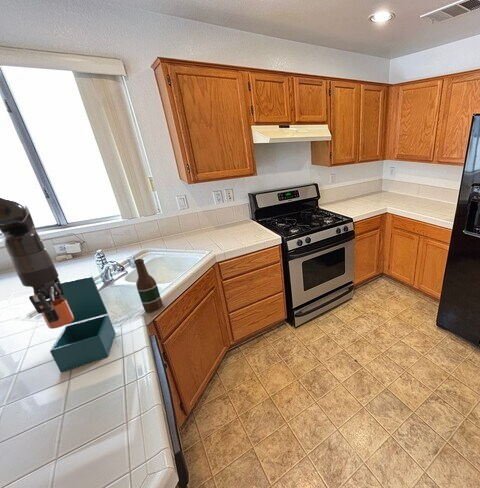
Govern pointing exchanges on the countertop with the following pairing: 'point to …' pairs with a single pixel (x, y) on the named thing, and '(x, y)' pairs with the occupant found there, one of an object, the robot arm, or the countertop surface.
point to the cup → (60, 314)
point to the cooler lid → (83, 298)
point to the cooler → (83, 343)
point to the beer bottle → (147, 288)
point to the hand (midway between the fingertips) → (58, 315)
